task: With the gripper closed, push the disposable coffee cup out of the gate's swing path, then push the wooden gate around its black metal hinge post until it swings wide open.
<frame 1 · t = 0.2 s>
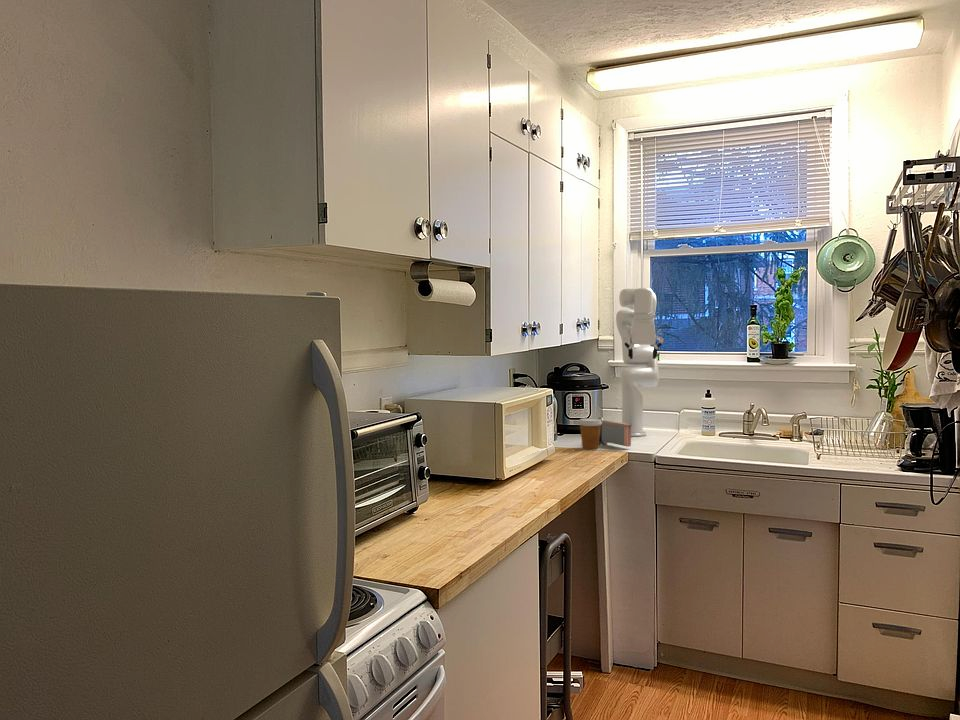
hand: (642, 358, 308), 37 cm above the counter, tool pointing down, fingers open, 9 cm apart
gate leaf: (615, 433, 309), point 6 cm above the counter, hinge at 0.0°
disposable coffee cup: (590, 448, 305), on the counter
hinge post: (600, 443, 318), on the counter
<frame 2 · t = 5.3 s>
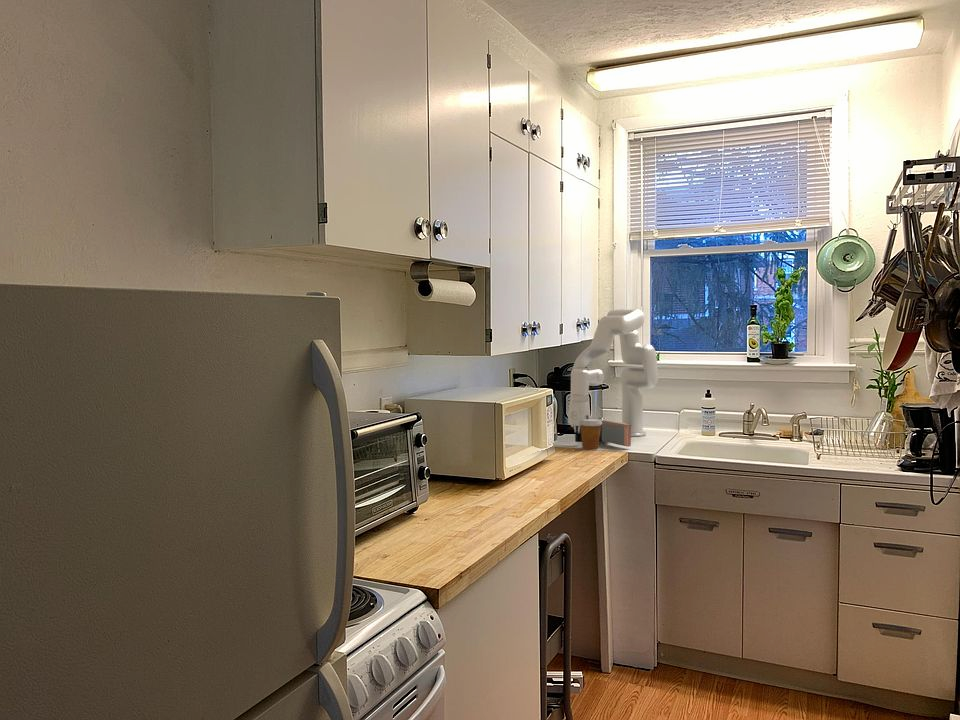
hand: (579, 441, 311), 2 cm above the counter, tool pointing down, fingers closed
disposable coffee cup: (590, 448, 305), on the counter, touching gripper
everything else where it was.
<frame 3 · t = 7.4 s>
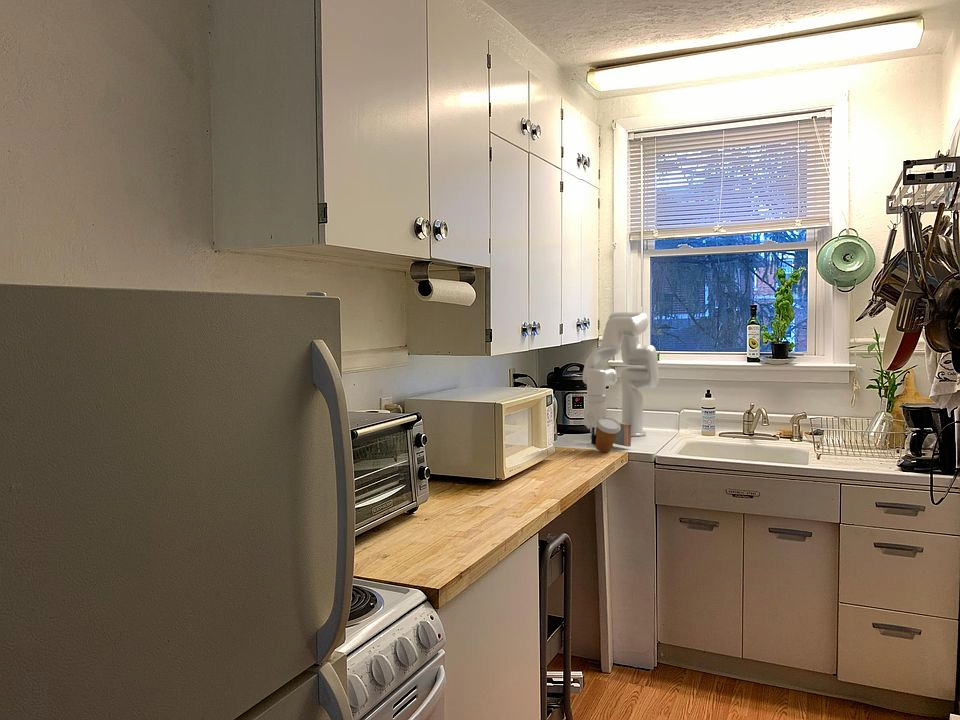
hand: (595, 444, 300), 2 cm above the counter, tool pointing down, fingers closed
disposable coffee cup: (602, 448, 297), point 1 cm above the counter, touching gripper
everything else where it was.
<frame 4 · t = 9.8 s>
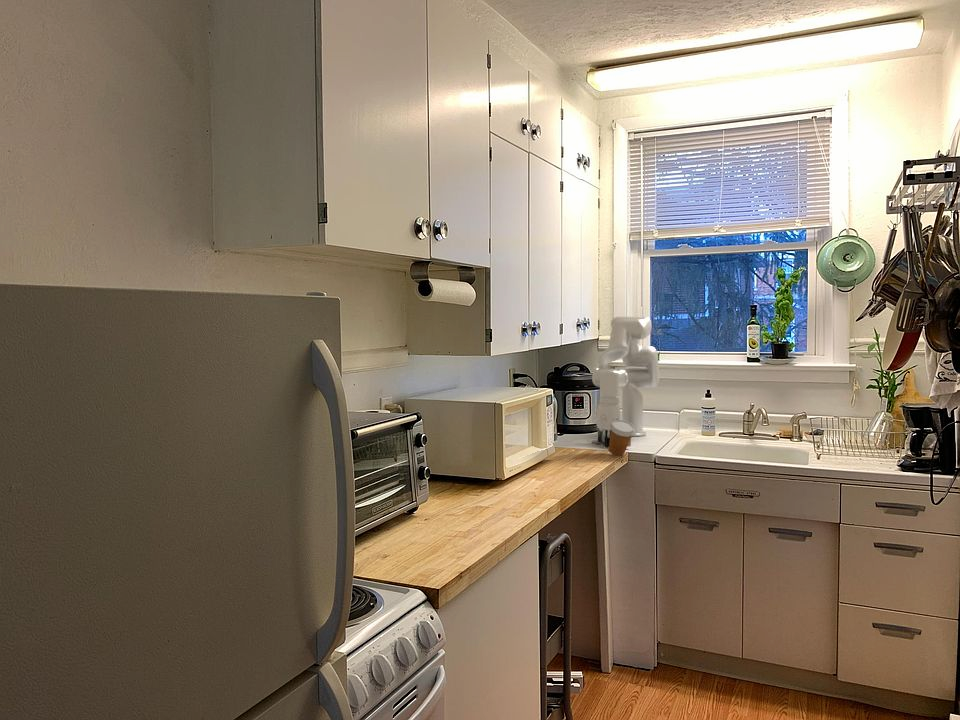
hand: (608, 446, 293), 2 cm above the counter, tool pointing down, fingers closed
disposable coffee cup: (616, 451, 290), point 1 cm above the counter, touching gripper
everything else where it was.
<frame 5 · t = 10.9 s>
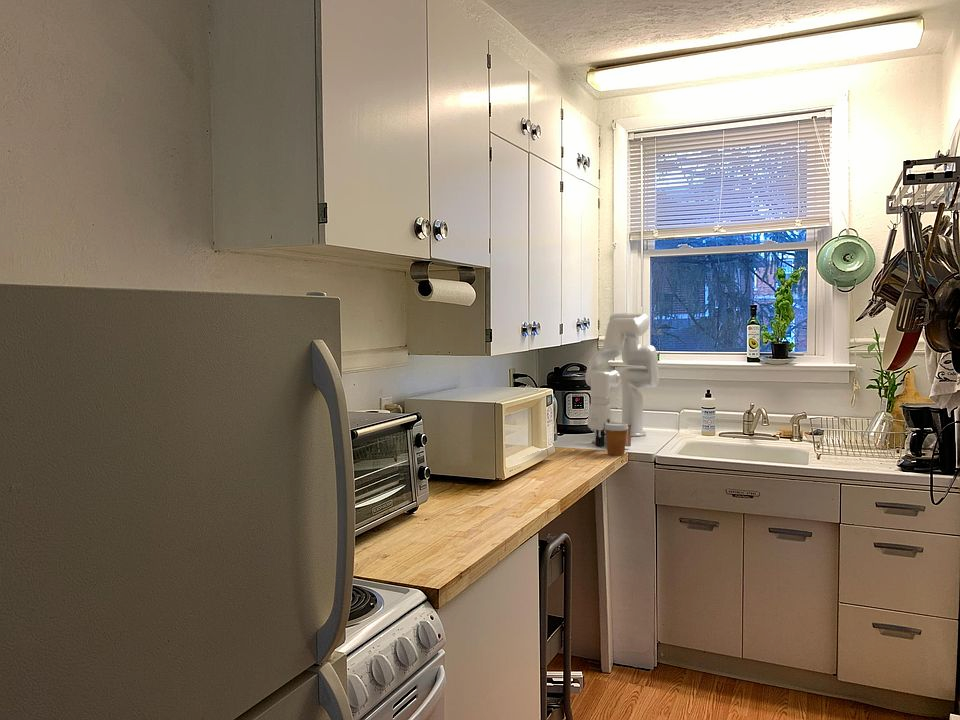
hand: (599, 446, 300), 2 cm above the counter, tool pointing down, fingers closed
disposable coffee cup: (615, 454, 290), on the counter
everything else where it was.
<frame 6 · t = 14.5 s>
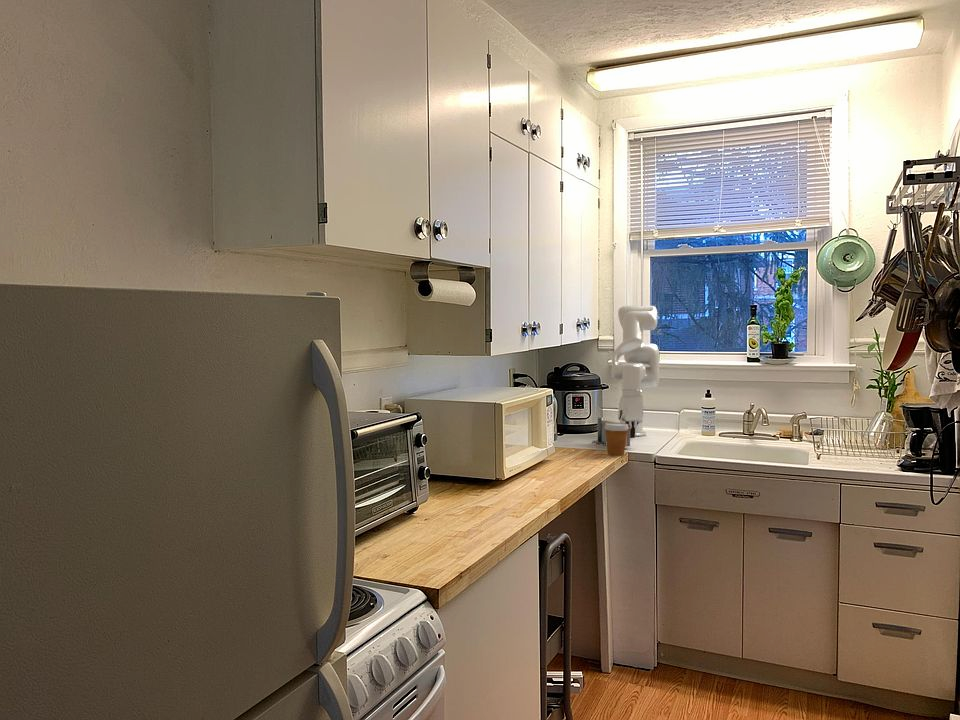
hand: (630, 437, 307), 4 cm above the counter, tool pointing down, fingers closed
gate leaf: (615, 433, 309), point 6 cm above the counter, hinge at 1.3°, touching gripper
everything else where it was.
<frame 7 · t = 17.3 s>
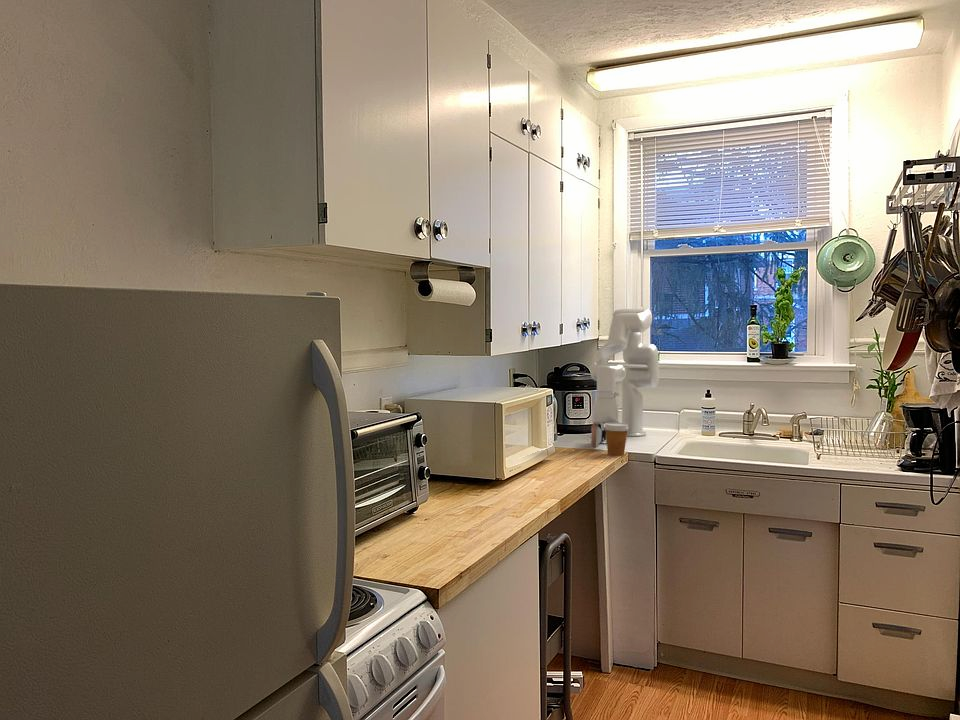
hand: (605, 439, 303), 4 cm above the counter, tool pointing down, fingers closed
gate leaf: (596, 433, 308), point 6 cm above the counter, hinge at 48.0°, touching gripper
everything else where it was.
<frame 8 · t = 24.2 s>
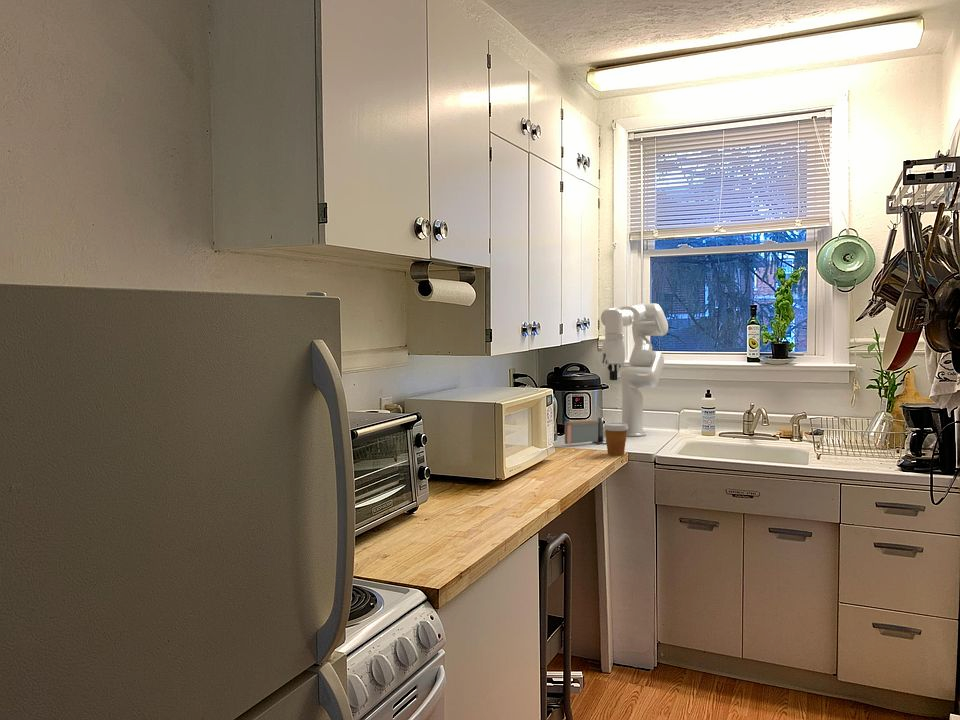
hand: (613, 380, 320), 27 cm above the counter, tool pointing down, fingers closed
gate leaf: (581, 431, 312), point 6 cm above the counter, hinge at 90.8°
everything else where it was.
at the end: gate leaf at +91° (first picture: +0°); disposable coffee cup moved 16.5 cm from its start; disposable coffee cup tilted 0° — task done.
